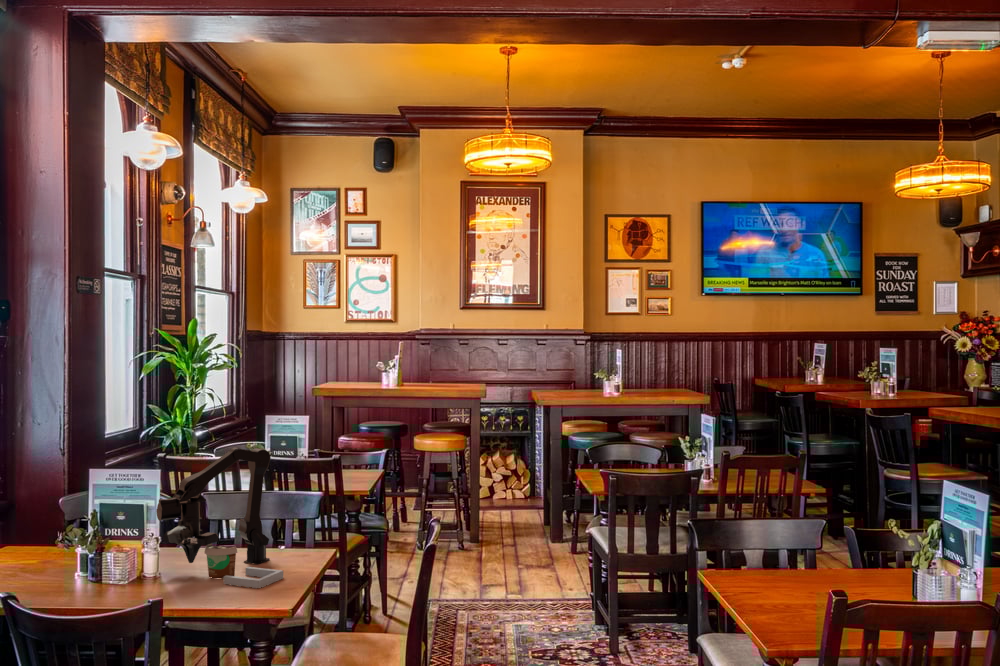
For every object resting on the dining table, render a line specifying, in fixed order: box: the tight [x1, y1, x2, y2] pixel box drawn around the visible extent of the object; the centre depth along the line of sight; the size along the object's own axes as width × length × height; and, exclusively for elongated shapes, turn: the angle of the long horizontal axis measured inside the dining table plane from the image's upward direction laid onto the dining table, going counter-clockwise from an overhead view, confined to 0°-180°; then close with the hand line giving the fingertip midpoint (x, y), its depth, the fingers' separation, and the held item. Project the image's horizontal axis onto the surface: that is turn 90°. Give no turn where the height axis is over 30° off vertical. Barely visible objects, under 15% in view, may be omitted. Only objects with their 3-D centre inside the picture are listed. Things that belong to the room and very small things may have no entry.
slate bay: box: [223, 566, 284, 589], centre depth 257 cm, size 12×14×2 cm
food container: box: [204, 543, 238, 579], centre depth 263 cm, size 12×6×10 cm, turn 62°
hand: (191, 562), depth 267 cm, fingers closed
